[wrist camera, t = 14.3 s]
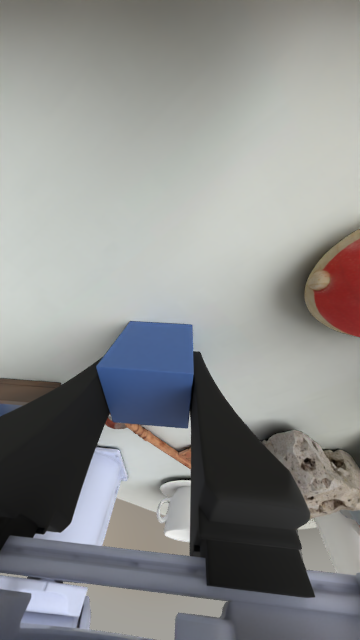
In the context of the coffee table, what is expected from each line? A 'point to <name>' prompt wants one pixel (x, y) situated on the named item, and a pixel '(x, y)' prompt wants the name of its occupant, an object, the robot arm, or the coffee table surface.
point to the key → (154, 441)
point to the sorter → (21, 392)
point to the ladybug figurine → (337, 287)
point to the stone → (318, 472)
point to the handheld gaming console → (352, 515)
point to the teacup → (176, 509)
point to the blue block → (149, 374)
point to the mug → (341, 541)
